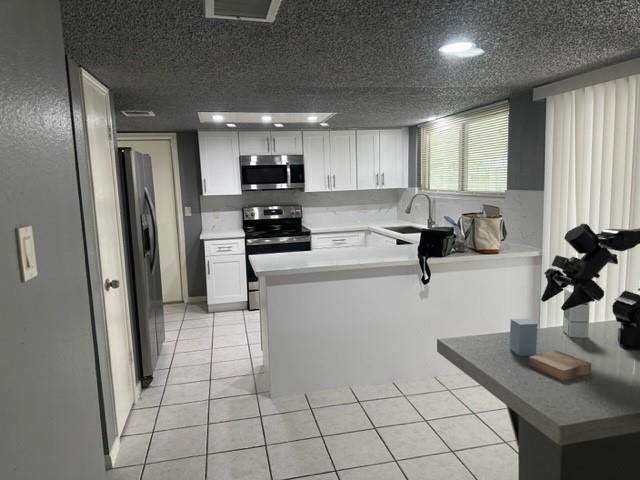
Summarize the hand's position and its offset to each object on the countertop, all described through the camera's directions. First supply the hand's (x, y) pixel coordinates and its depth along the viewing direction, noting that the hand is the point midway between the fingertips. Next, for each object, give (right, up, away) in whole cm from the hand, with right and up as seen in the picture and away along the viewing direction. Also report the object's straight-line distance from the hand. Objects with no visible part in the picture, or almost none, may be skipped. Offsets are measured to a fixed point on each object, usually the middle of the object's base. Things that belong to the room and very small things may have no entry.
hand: (551, 305), depth 124 cm
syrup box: (+15, -12, +14) cm, 24 cm away
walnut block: (-4, -15, -11) cm, 19 cm away
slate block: (-8, -14, +1) cm, 16 cm away
